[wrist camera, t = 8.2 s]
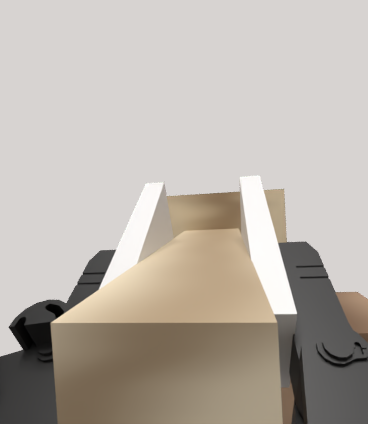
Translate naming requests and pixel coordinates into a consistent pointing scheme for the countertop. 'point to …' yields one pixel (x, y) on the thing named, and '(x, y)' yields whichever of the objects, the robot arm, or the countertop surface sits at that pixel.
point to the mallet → (177, 330)
